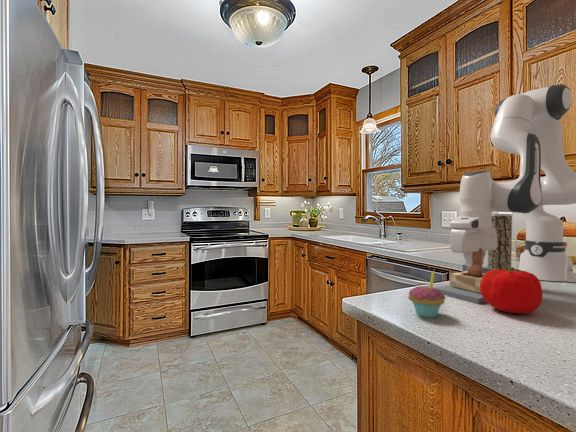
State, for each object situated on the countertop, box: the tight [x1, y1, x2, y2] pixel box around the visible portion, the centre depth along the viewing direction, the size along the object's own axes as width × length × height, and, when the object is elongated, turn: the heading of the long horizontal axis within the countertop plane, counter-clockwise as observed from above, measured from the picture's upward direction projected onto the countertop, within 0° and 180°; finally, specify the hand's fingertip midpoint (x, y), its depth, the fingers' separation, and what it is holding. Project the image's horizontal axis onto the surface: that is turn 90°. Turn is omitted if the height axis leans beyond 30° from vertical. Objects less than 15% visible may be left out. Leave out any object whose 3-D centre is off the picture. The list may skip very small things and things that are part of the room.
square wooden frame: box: [449, 270, 485, 293], centre depth 98 cm, size 10×10×4 cm
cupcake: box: [408, 268, 446, 318], centre depth 79 cm, size 9×8×12 cm
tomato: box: [480, 266, 544, 314], centre depth 81 cm, size 12×13×12 cm
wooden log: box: [487, 213, 513, 269], centre depth 107 cm, size 7×7×25 cm
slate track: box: [434, 263, 494, 305], centre depth 97 cm, size 18×14×8 cm
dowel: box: [467, 248, 483, 278], centre depth 98 cm, size 4×4×10 cm
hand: (474, 265), depth 98 cm, fingers closed on dowel, 4 cm apart
